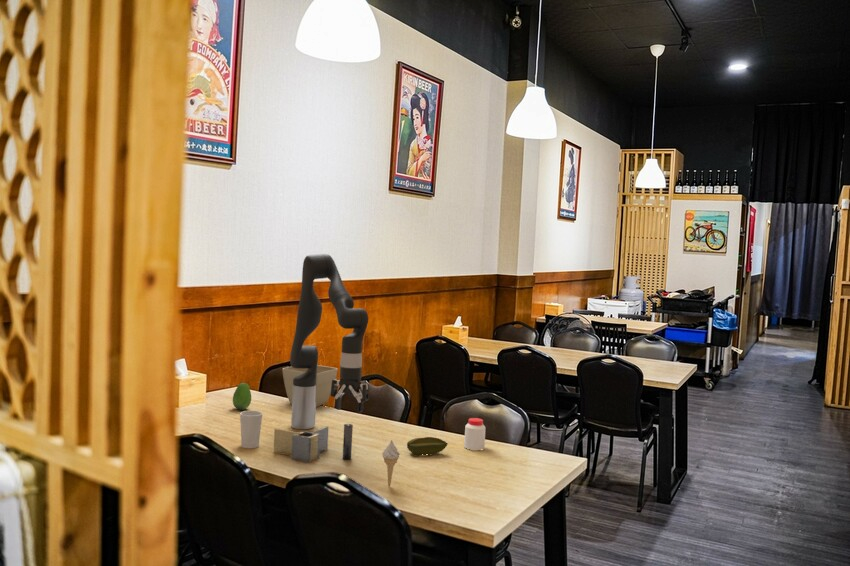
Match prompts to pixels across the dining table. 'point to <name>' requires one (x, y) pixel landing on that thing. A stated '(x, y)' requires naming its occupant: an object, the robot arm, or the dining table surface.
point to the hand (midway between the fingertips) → (348, 411)
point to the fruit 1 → (242, 396)
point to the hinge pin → (347, 441)
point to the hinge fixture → (301, 443)
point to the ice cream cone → (390, 459)
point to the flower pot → (322, 382)
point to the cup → (250, 428)
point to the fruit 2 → (426, 445)
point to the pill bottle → (475, 434)
